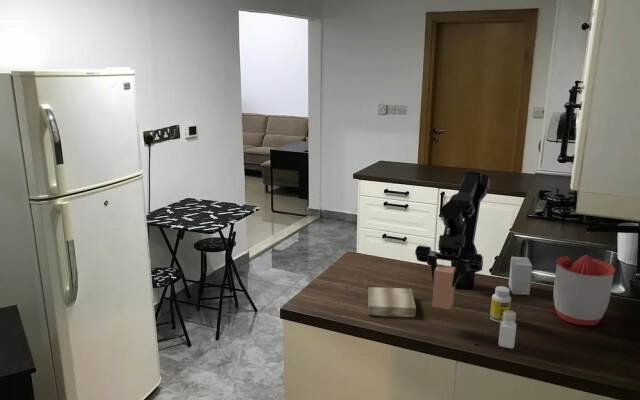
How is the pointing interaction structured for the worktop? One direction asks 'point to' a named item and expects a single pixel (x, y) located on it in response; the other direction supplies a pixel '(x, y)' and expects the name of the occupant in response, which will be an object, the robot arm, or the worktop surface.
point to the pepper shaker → (507, 329)
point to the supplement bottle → (500, 303)
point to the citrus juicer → (582, 289)
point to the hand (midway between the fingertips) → (443, 284)
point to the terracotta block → (443, 286)
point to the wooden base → (391, 302)
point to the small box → (520, 275)
